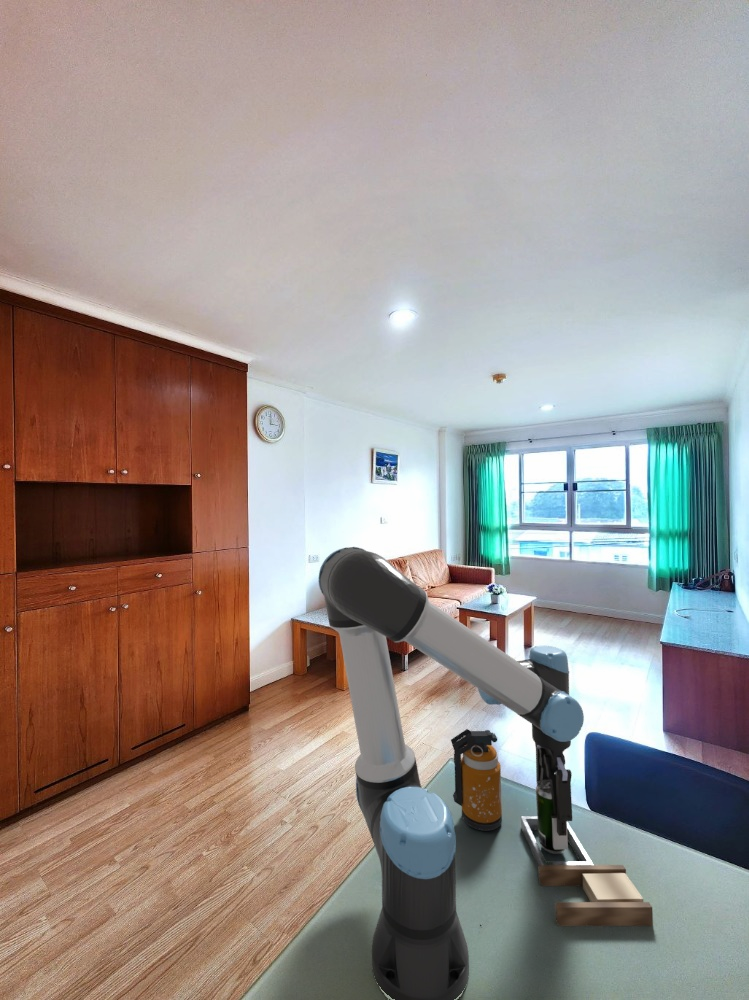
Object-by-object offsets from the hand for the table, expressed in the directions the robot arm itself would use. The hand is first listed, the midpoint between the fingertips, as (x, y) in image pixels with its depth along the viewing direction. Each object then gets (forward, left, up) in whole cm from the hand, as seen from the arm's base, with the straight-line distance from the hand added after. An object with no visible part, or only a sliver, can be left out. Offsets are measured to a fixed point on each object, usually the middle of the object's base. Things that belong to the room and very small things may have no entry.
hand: (554, 836), depth 90 cm
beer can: (0, 0, -2) cm, 2 cm away
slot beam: (+2, -12, -3) cm, 13 cm away
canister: (-14, +9, -3) cm, 17 cm away
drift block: (+6, -12, -3) cm, 13 cm away
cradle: (0, 0, -3) cm, 3 cm away
